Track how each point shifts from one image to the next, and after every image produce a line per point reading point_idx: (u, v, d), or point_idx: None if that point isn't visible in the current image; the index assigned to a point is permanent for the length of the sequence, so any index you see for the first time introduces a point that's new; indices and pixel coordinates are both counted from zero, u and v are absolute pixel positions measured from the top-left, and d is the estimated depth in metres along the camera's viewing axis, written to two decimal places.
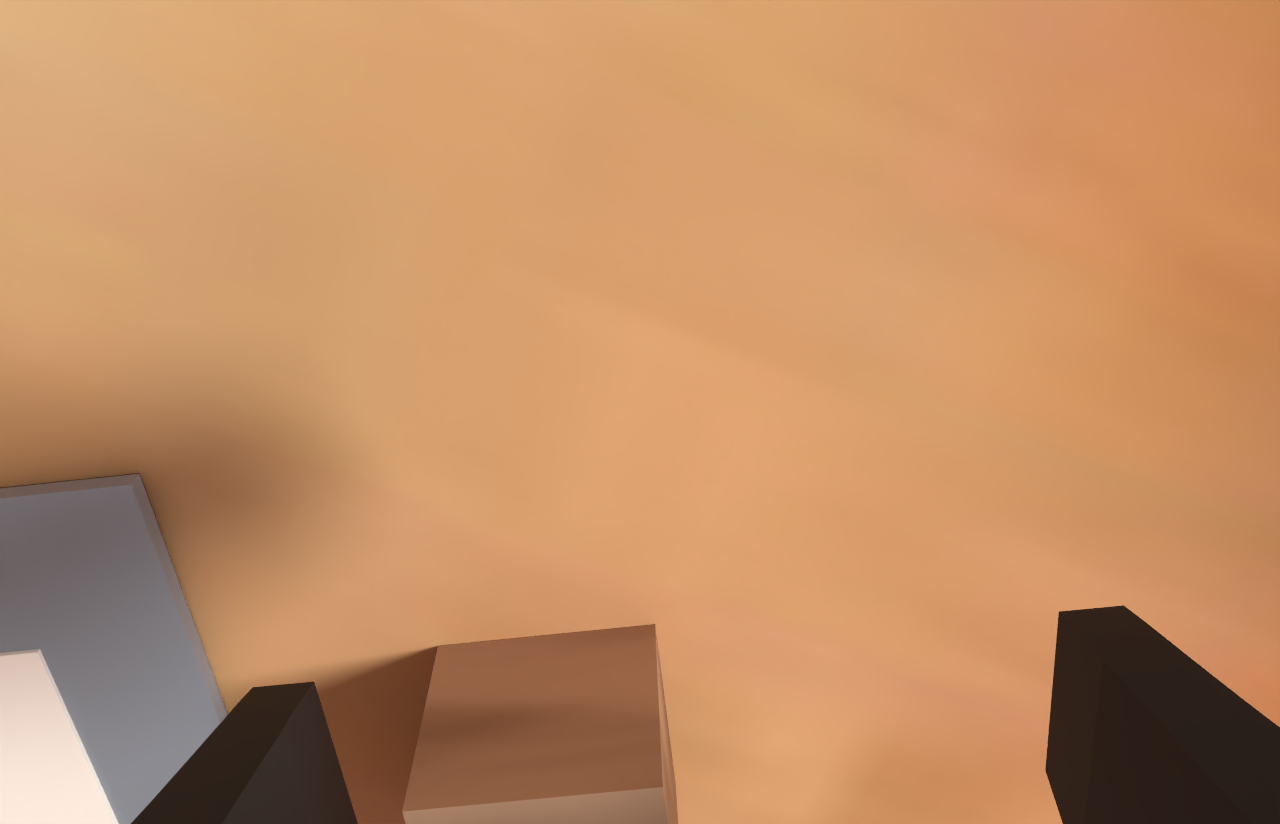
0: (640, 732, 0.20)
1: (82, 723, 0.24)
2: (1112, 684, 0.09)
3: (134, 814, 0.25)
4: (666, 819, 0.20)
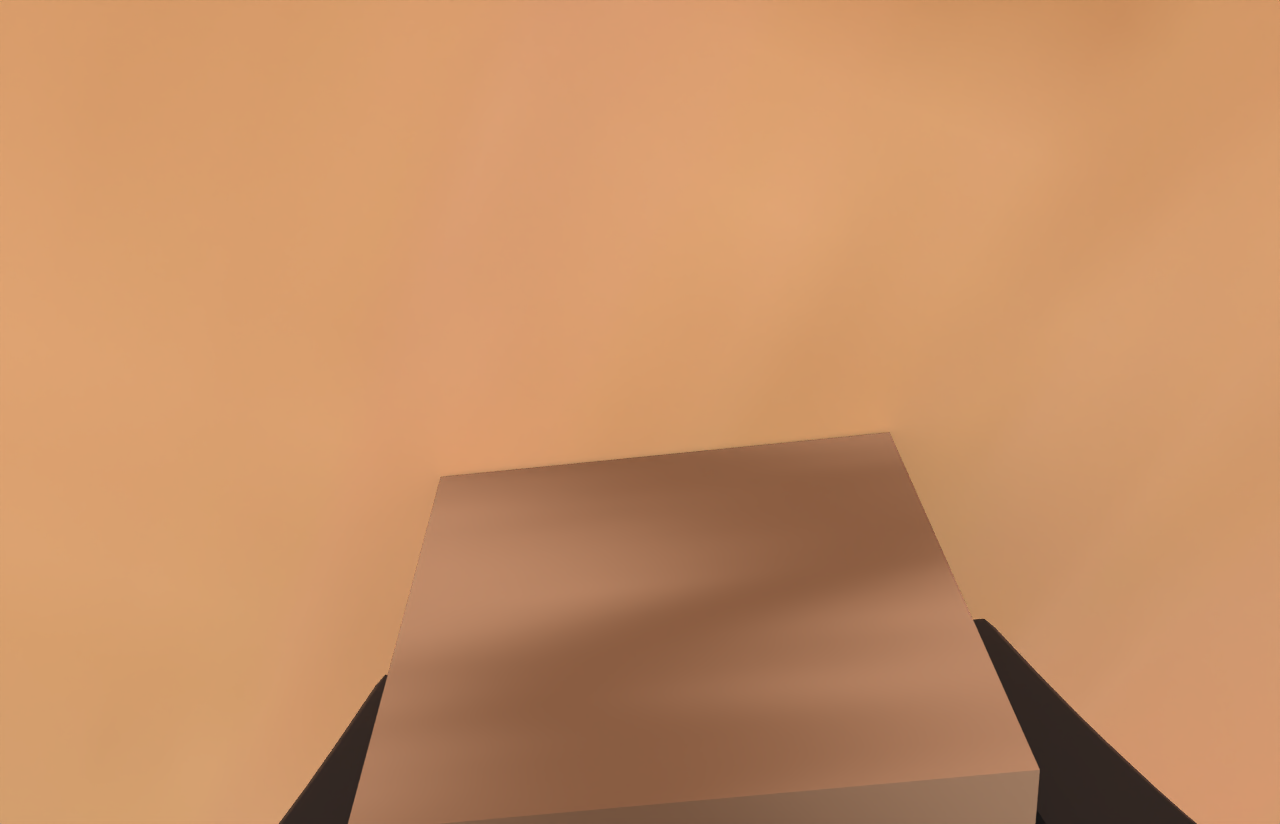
0: None
1: None
2: None
3: None
4: (462, 822, 0.07)
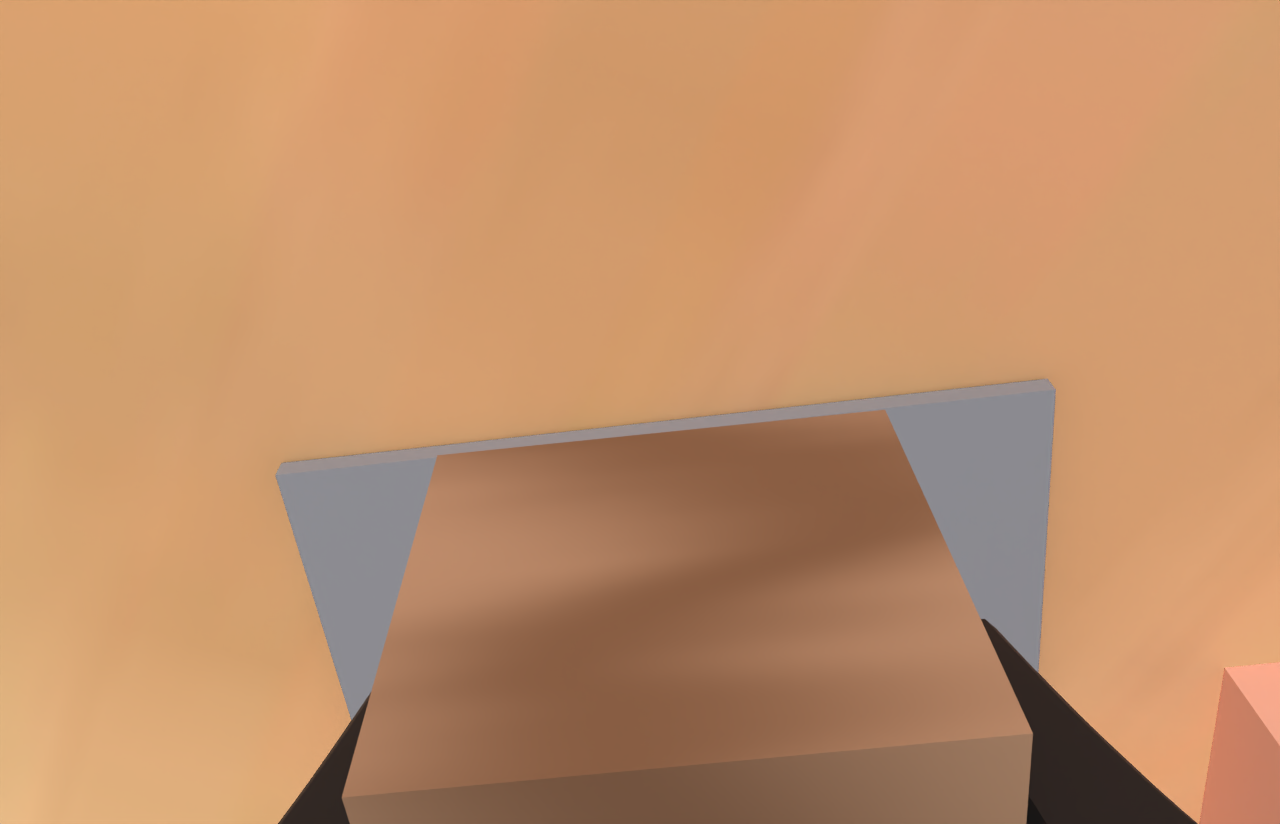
0: None
1: None
2: None
3: None
4: (458, 789, 0.07)
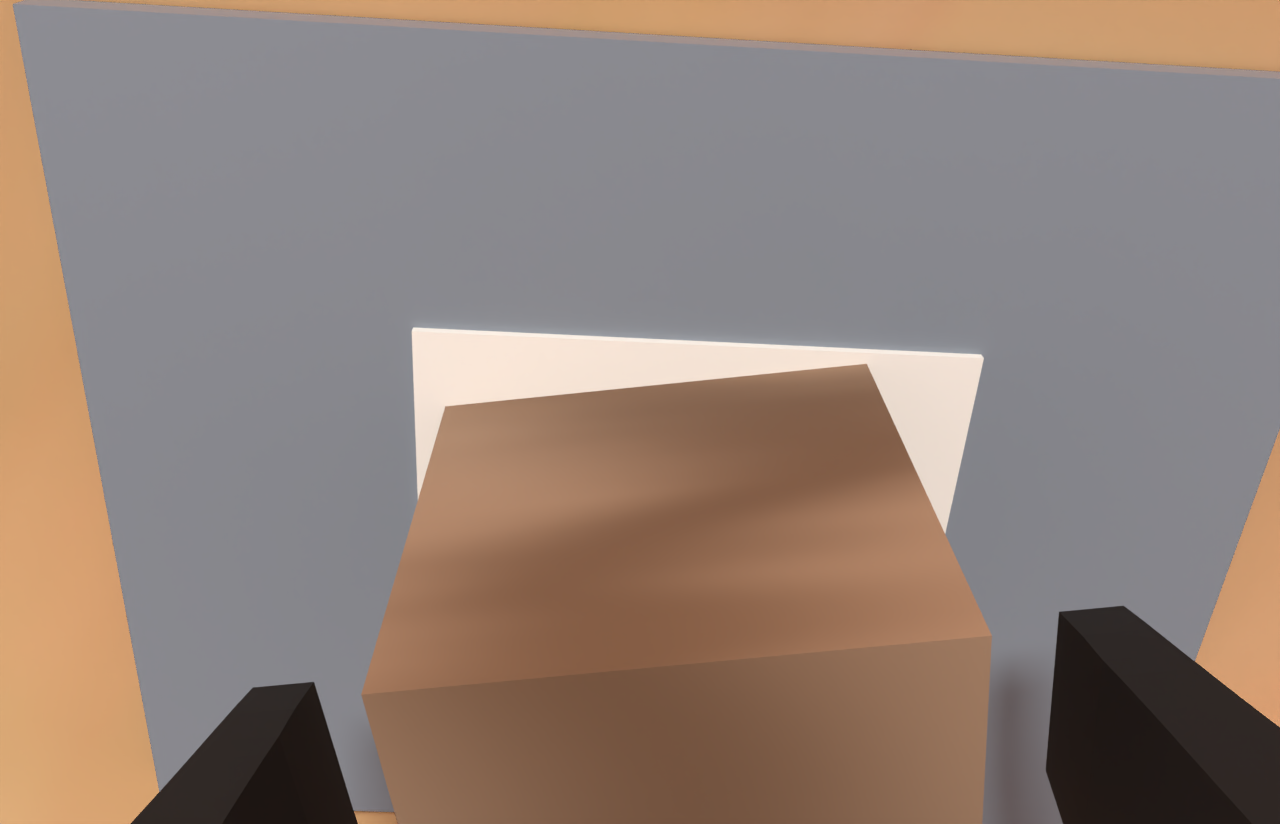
0: None
1: (605, 319, 0.12)
2: (1112, 684, 0.09)
3: (865, 311, 0.12)
4: (467, 686, 0.08)
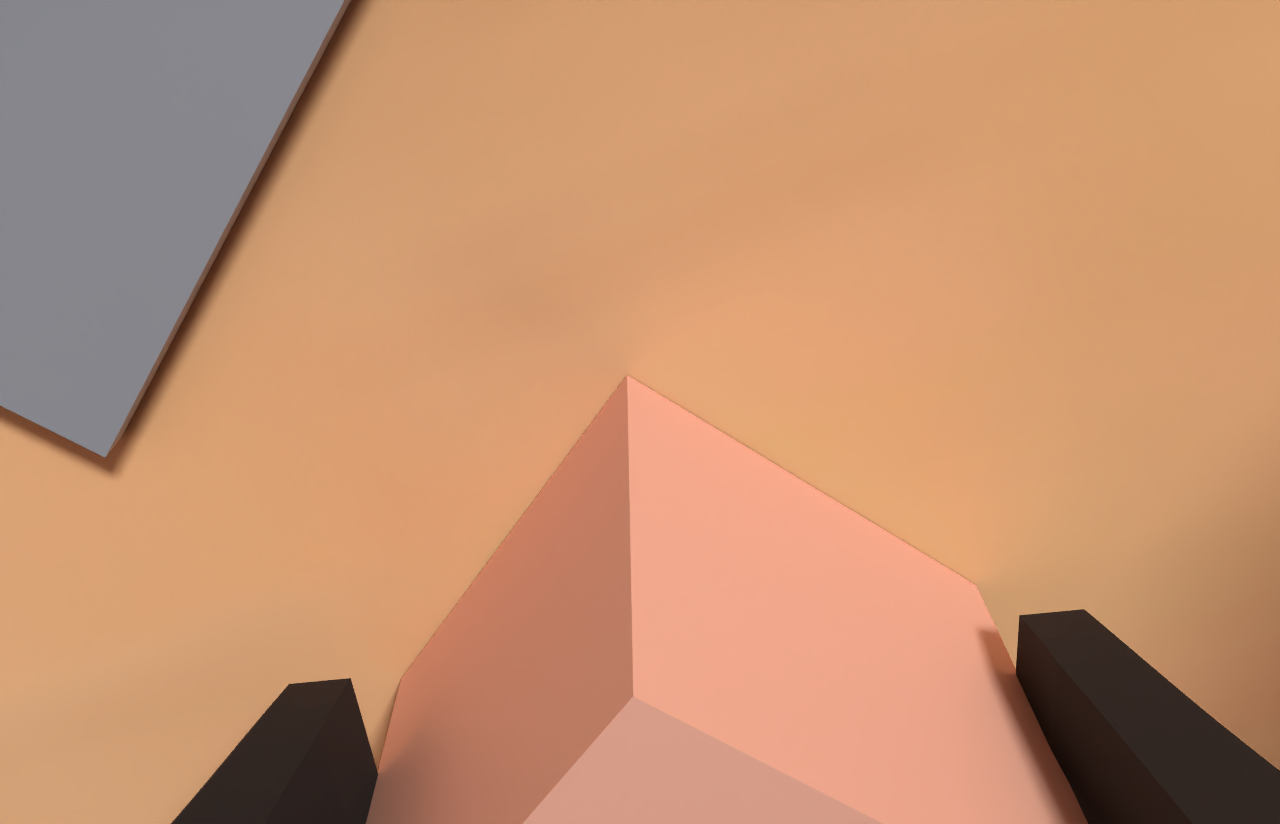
0: None
1: None
2: (1068, 688, 0.09)
3: None
4: None
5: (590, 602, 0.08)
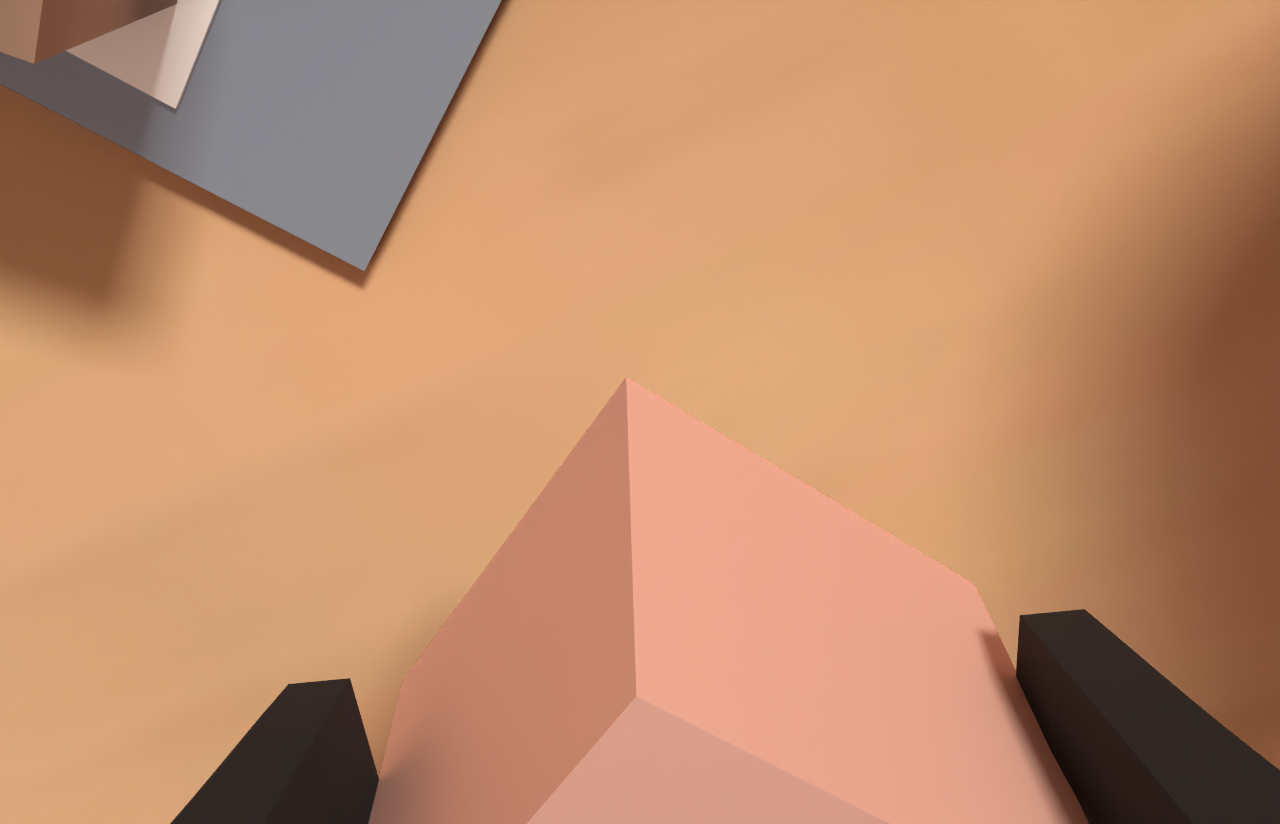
0: None
1: None
2: (1068, 688, 0.09)
3: None
4: None
5: (592, 603, 0.09)
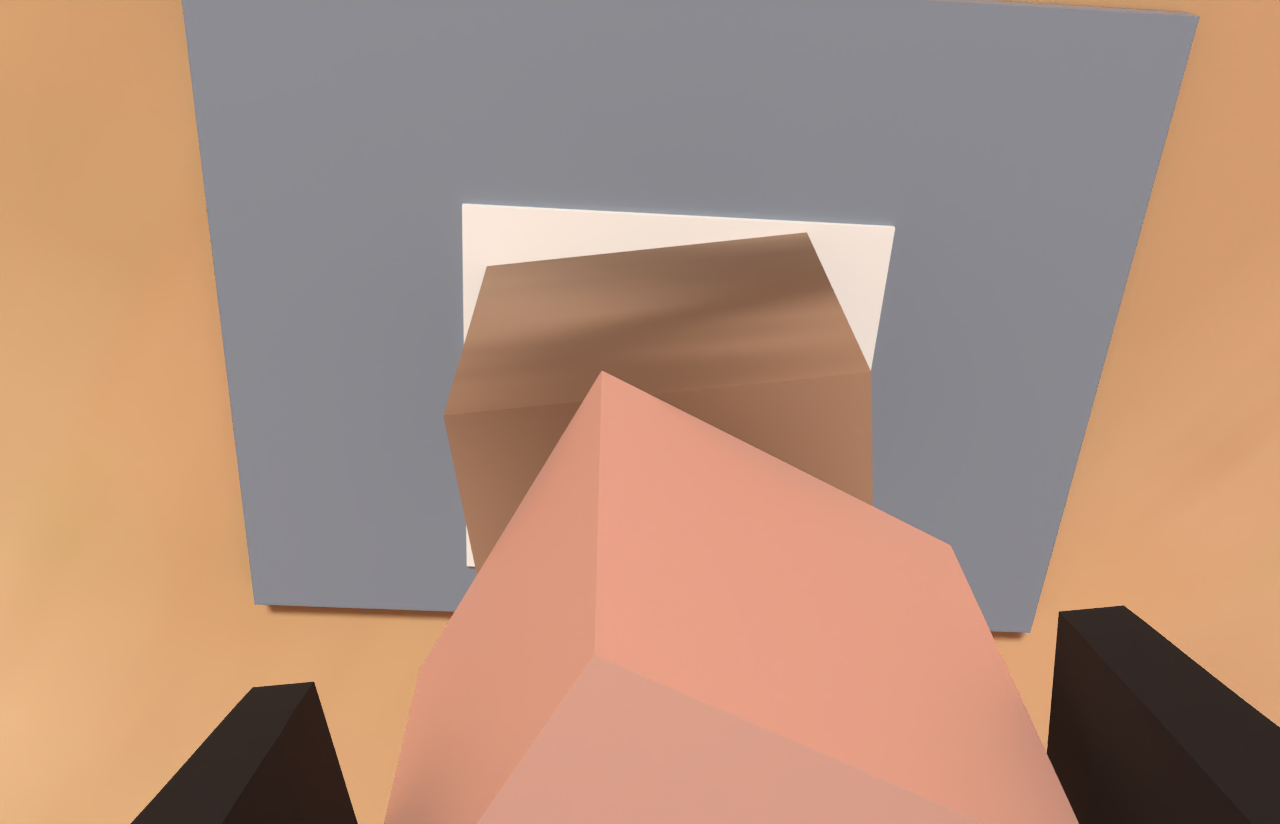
0: None
1: (608, 197, 0.16)
2: (1112, 684, 0.09)
3: (804, 191, 0.16)
4: (516, 409, 0.12)
5: (565, 577, 0.09)
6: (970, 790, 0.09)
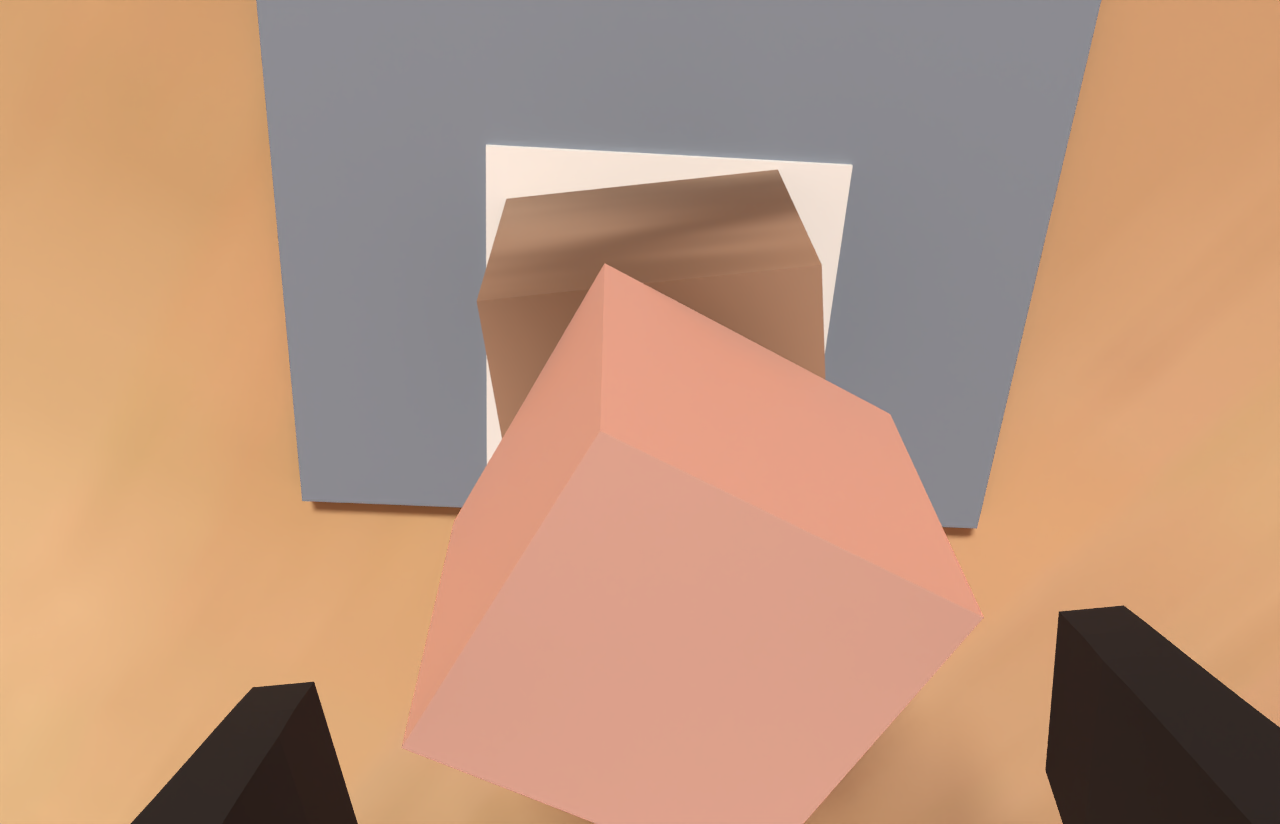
0: None
1: (609, 139, 0.18)
2: (1112, 684, 0.09)
3: (775, 134, 0.18)
4: (535, 295, 0.15)
5: (577, 400, 0.12)
6: (884, 554, 0.12)
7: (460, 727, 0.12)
